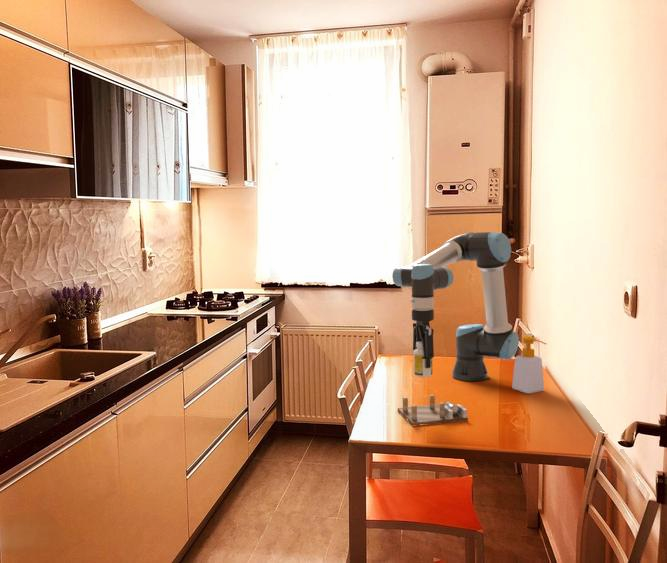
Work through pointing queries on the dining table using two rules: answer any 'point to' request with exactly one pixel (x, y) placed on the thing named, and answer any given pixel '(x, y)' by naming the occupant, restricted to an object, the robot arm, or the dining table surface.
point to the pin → (453, 408)
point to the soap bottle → (528, 369)
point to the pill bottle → (419, 360)
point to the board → (431, 413)
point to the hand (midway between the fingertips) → (423, 373)
